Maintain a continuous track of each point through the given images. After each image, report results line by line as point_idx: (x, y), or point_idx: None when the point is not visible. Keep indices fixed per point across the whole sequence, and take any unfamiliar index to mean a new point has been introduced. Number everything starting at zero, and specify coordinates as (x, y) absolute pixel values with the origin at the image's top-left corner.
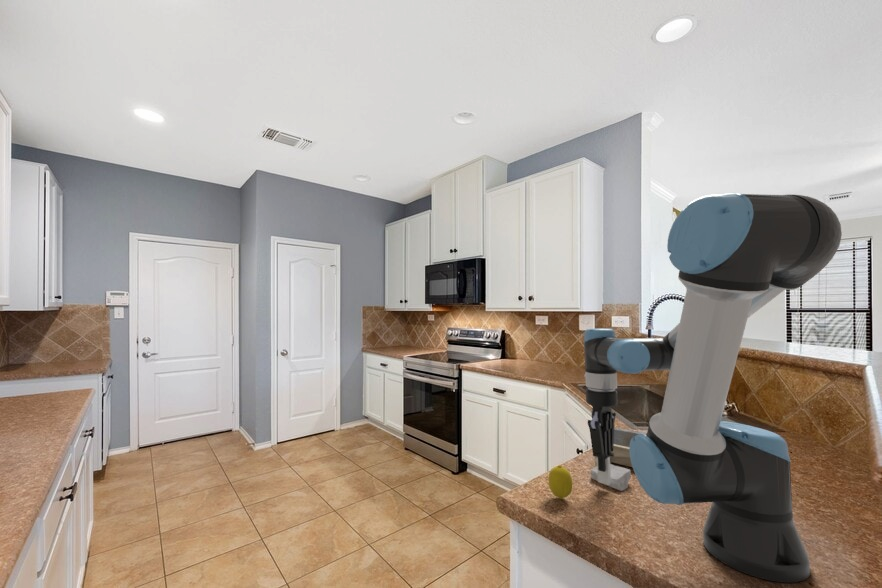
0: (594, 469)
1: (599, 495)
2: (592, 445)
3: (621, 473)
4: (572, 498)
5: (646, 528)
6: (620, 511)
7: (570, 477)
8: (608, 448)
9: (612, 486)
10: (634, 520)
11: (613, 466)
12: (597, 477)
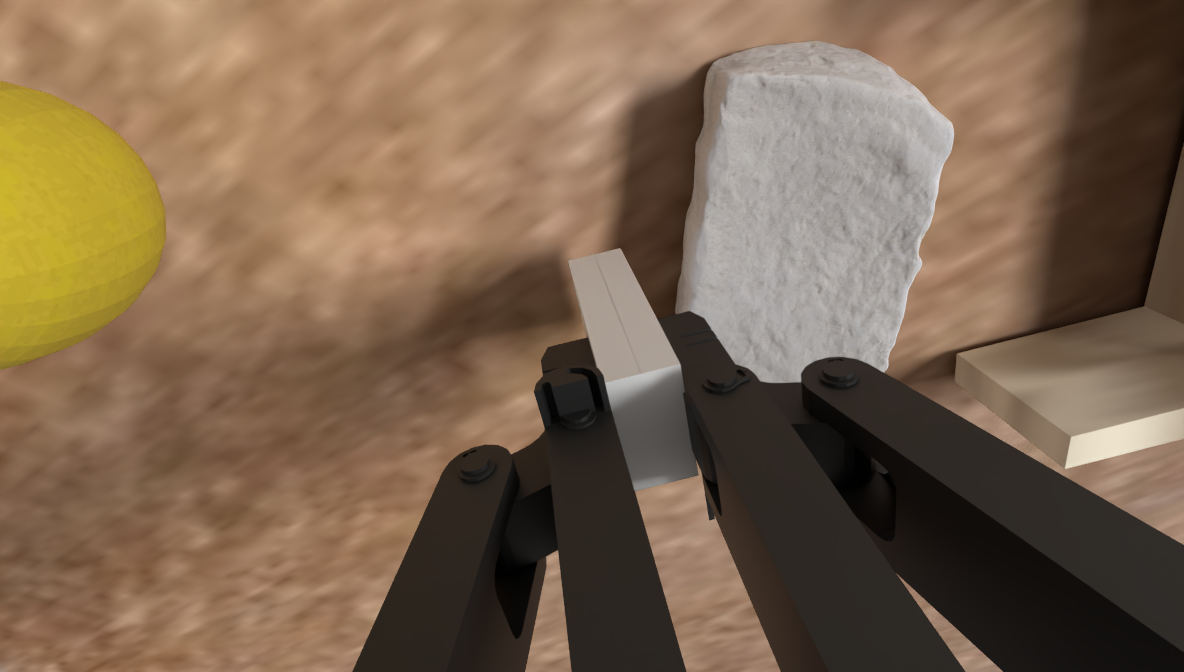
0: (765, 101)
1: (473, 311)
2: (386, 613)
3: (783, 369)
4: (222, 226)
5: (365, 639)
6: (399, 501)
7: (28, 360)
8: (729, 540)
9: (679, 291)
10: (381, 581)
11: (902, 234)
12: (697, 160)
